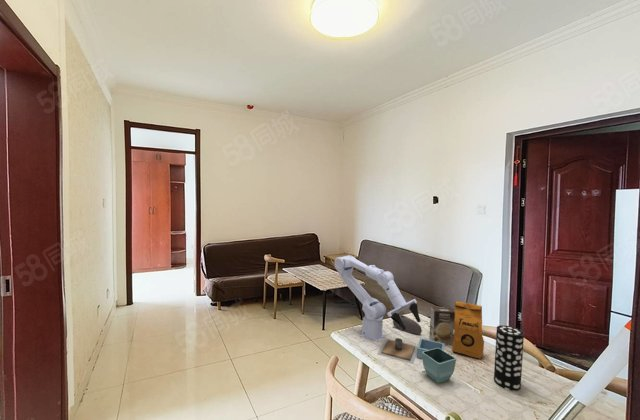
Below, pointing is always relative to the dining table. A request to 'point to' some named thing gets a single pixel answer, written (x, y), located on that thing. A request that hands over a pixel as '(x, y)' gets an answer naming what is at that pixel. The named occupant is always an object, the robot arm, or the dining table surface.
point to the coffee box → (442, 325)
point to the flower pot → (438, 364)
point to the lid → (398, 349)
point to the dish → (427, 346)
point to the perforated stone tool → (409, 325)
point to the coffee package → (468, 330)
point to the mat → (396, 357)
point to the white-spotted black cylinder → (508, 357)
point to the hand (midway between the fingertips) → (412, 325)
